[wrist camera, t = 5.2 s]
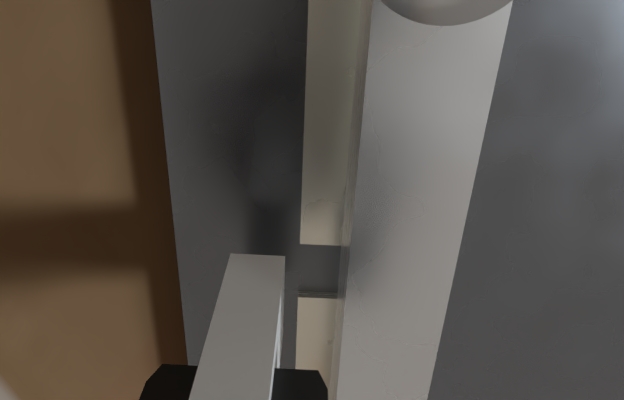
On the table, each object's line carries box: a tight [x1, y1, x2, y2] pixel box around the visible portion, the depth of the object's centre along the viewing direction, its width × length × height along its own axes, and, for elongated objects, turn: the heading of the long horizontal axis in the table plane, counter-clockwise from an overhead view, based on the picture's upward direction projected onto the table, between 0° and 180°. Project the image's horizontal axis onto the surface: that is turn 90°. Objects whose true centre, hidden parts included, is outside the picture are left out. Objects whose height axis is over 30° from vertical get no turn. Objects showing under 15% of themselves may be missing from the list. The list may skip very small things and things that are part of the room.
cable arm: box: [329, 0, 513, 400], centre depth 12 cm, size 21×3×3 cm, turn 178°
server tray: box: [151, 0, 624, 400], centre depth 16 cm, size 22×16×3 cm
